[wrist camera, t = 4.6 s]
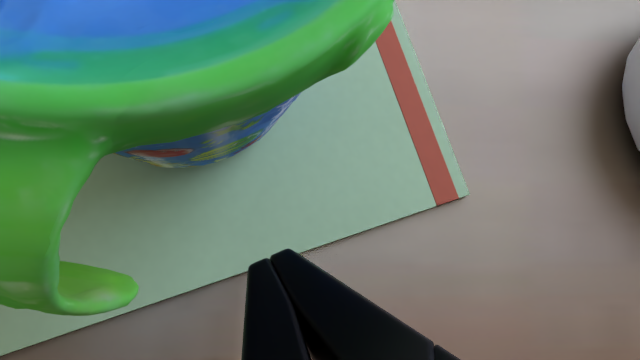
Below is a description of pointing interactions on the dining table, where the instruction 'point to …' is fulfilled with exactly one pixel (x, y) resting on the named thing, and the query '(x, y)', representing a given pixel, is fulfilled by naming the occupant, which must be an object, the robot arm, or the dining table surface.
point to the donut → (632, 92)
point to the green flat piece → (263, 189)
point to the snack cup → (142, 108)
